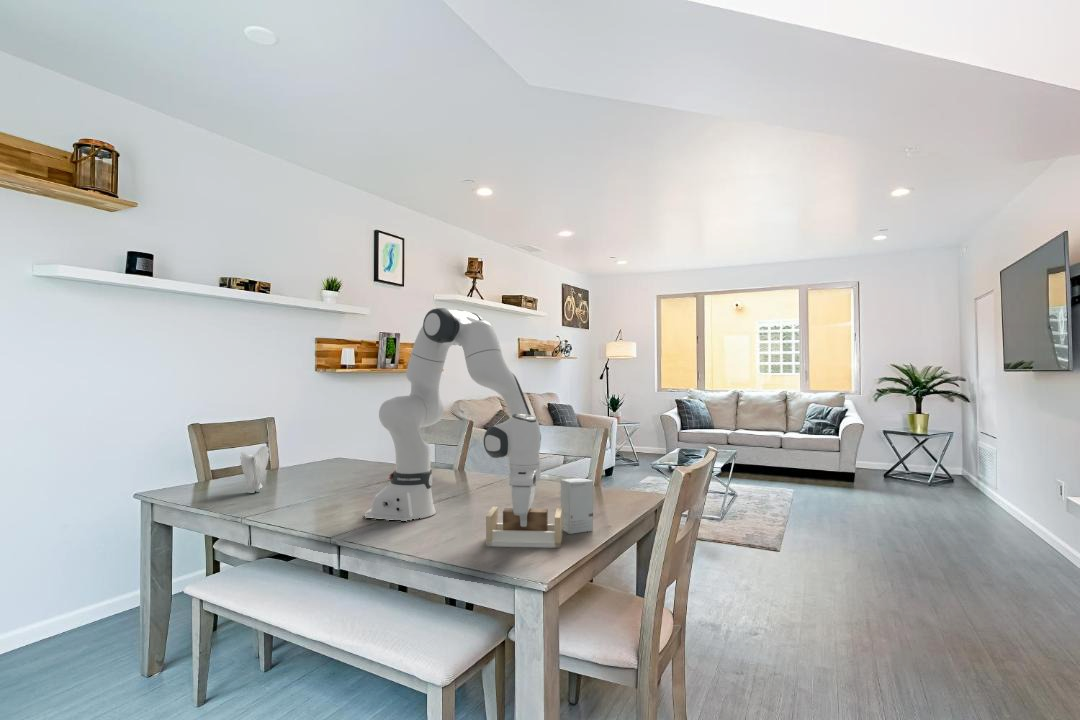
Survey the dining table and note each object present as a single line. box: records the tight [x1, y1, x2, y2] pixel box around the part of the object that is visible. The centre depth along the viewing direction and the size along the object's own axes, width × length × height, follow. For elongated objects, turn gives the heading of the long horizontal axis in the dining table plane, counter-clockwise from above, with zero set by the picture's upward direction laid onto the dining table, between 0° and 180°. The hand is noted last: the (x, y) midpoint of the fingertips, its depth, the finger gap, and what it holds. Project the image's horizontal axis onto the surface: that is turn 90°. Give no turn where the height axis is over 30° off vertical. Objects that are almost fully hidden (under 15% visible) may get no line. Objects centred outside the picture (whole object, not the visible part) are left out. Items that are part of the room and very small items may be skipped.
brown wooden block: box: [502, 507, 549, 531], centre depth 151 cm, size 12×4×6 cm, turn 85°
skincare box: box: [560, 477, 594, 535], centre depth 161 cm, size 8×6×15 cm
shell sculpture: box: [240, 445, 270, 490], centre depth 212 cm, size 8×8×18 cm
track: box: [485, 506, 563, 549], centre depth 151 cm, size 20×10×8 cm, turn 85°
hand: (525, 523), depth 151 cm, fingers closed on brown wooden block, 4 cm apart
